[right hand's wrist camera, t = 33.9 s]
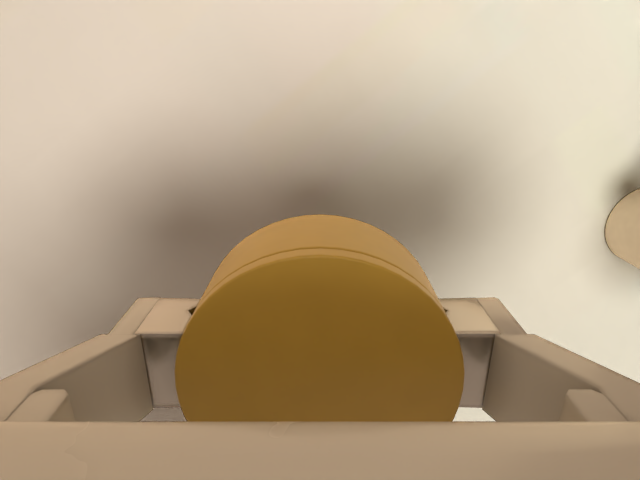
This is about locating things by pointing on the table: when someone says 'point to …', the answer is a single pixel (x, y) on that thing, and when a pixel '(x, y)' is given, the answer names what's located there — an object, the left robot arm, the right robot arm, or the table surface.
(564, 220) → the table surface
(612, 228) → the jar
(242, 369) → the lid
